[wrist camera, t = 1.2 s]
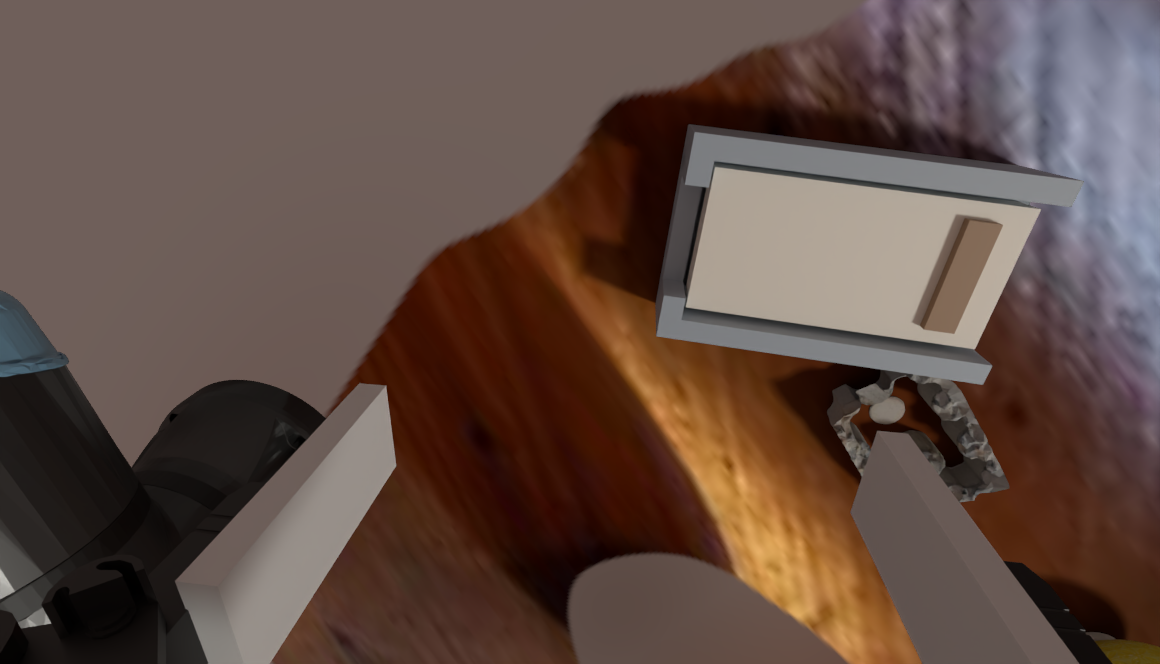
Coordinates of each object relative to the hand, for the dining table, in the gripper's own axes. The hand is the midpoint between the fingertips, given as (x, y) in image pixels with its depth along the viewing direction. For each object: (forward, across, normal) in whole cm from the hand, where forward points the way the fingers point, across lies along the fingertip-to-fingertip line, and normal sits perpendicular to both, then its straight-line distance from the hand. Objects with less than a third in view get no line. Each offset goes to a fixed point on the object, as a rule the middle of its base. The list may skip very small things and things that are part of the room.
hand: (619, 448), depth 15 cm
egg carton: (+21, +19, -12) cm, 31 cm away
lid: (+19, +12, +1) cm, 22 cm away
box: (+21, +11, +1) cm, 24 cm away
